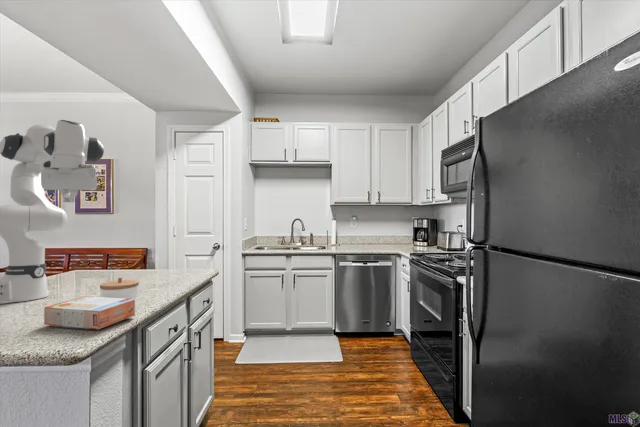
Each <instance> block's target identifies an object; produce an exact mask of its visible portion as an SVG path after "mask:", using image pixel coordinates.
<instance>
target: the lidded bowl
mask: <svg viewBox="0 0 640 427" xmlns="http://www.w3.org/2000/svg"><path fill="white" fill-rule="evenodd" d="M139 283H140V281H139V280H136V279H123V277H118V278H117V280H110V281H106V282H102V283H101V284H99V294H100V297H105V298H123V299H135V300H136V299H137V297H138V292H139V285H140V284H139Z"/></svg>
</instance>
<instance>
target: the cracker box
mask: <svg viewBox="0 0 640 427" xmlns="http://www.w3.org/2000/svg"><path fill="white" fill-rule="evenodd" d="M135 302H136V299H123V298H105V297H101V296H87V295H86V296H85V295H84V296H82V297H78V298H73V299H70V300H66V301H62V302H58V303H56V304H55V303H54V304H51V305H48V306H44V309H43V310H44V312H43V316H44V317H43V325H45V326H46V325H47V326H52V325H54V326H65V327H77V328H88V329H87V330H93V329H96V330H100V329H103V328H106V327H109V326H111V325H113V324H116V323H119V322H121V321H123V320H127V319H129V318H132V317H134V316H135V315H136V310H135V308H136V307H135V306H136V303H135Z"/></svg>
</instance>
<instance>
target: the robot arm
mask: <svg viewBox="0 0 640 427" xmlns="http://www.w3.org/2000/svg"><path fill="white" fill-rule="evenodd" d="M104 152H105V148H104V145H103V143H102V142H101V141H100V139H99V138H97V137H89V136H86V131H85V127H84V125H83V124H81V123H79V122H76V121H71V120H67V119H60V120H57V122H56V126H55V127H53V126H50V125H47V124H35V125H32V126H30V127H28V129H27V131H26V133H25V135H22V134H21V135H20V133H19V132H17V133H16V134H9V135H6V136H4V137H3V138H2V140H0V155H1V157H3V158H6V159H9V160H10V161H16V162H19V163H17V164H16V165H14V167H13V168H12V169H13V170H12V172H11V176H10V198H11V199H12V200H13V202H14V203H15V205H14V204H12V205H11V204H9V205H0V237H1V238H2V239H3V240H4V241H5V243H6V246H7V249H8V260H9V261H8V266H5V267H3V271H5V273H4V275H3V276H1V277H0V304H1V305H2V304H10V303H17V302H26V301H27V302H28V301H34V300H40V299H44V298H47V297H49V295H50V290H49V289H48V280H47V275H46V274H45V273H46V271H47V263H46V262H45V261H46V259H45V258H46V247H45V245H44V243H42V242H40V241H39V240H35V239H33V238H30V237H28V236H27V235H26V233H28V232H53V231H59V230H61V229H63V228H64V227H65V226H66V225H67V223H68V215H67V213H66V211H65V210H64V209H63V208H62V207H59V206H57V205H55V204H54V203H52V202H51V201H50V200H49V199H48V198H47V196H46V192H45V190H49V191H50V190H51V191H52V190H54V191H55V190H56V191H57V190H58V191H60V194H61V197H62V199H63V203H75V200H76V199H75V198H76V197H77V196H78V193H79V191H96V189H98V178H97V177H98V176H97V173H96V170H97V169H96V167H95V166H93V165H92V164H86V162H88V163H96V162H98V161H100V160H101V159H102V158H103V156H104ZM69 193H70V194H69ZM16 203H17V205H16Z"/></svg>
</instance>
